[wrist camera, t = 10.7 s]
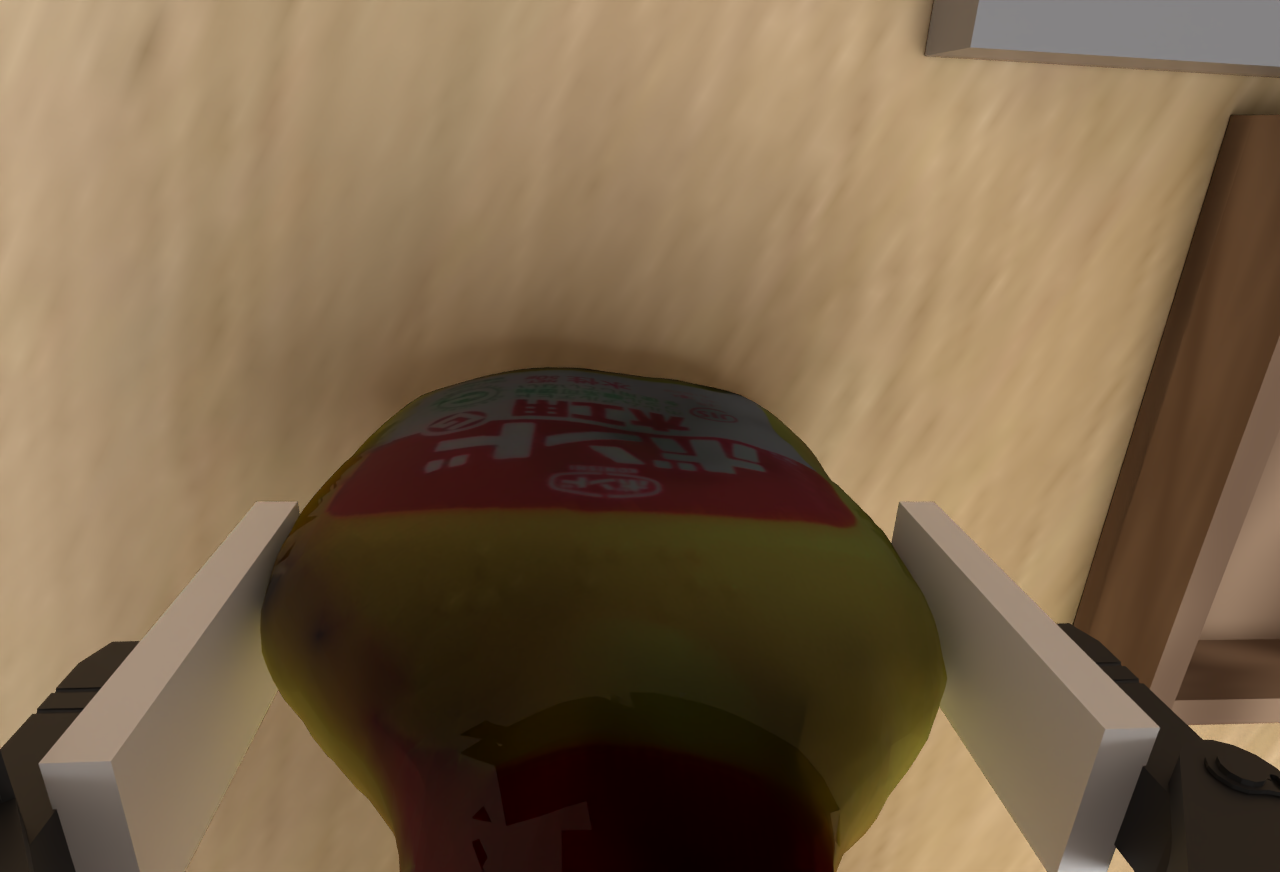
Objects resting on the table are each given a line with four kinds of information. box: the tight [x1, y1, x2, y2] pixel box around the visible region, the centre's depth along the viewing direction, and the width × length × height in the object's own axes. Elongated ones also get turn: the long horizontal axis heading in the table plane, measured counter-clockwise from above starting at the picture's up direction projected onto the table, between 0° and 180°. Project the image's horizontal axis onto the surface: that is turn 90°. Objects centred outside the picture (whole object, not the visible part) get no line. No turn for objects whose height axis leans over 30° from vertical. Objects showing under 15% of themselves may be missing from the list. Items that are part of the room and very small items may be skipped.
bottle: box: [260, 367, 947, 872], centre depth 12 cm, size 12×6×20 cm, turn 75°
